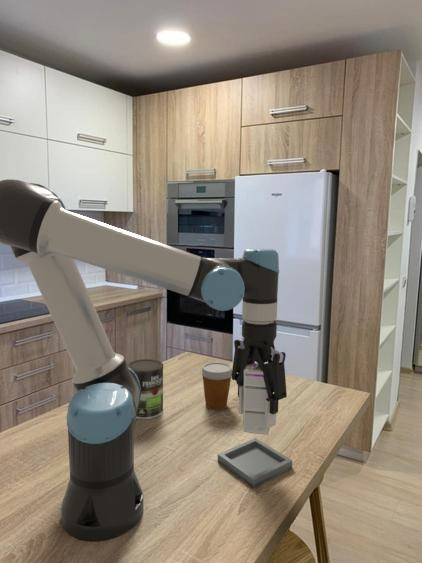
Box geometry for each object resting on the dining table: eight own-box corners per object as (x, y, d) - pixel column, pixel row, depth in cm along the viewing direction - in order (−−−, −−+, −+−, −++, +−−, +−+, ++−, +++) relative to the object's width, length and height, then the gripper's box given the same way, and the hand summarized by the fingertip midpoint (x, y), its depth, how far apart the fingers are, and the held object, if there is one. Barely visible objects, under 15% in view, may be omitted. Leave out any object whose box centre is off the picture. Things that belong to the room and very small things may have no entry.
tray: (253, 487, 88) (253, 479, 87) (217, 461, 97) (217, 454, 97) (292, 467, 95) (292, 460, 95) (255, 444, 104) (255, 438, 104)
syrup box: (268, 435, 91) (271, 372, 89) (241, 432, 93) (243, 369, 90) (270, 423, 97) (272, 363, 95) (245, 420, 98) (246, 360, 96)
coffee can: (170, 412, 121) (170, 365, 119) (139, 423, 114) (139, 374, 112) (150, 400, 129) (150, 356, 126) (120, 410, 122) (120, 363, 120)
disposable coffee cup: (226, 415, 120) (227, 375, 118) (195, 409, 123) (196, 370, 121) (235, 401, 129) (236, 364, 127) (206, 396, 132) (207, 360, 130)
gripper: (308, 327, 85) (303, 432, 89) (240, 309, 101) (238, 398, 105) (283, 333, 81) (278, 443, 84) (216, 313, 97) (215, 406, 100)
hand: (256, 418), depth 94 cm, fingers closed on syrup box, 8 cm apart
